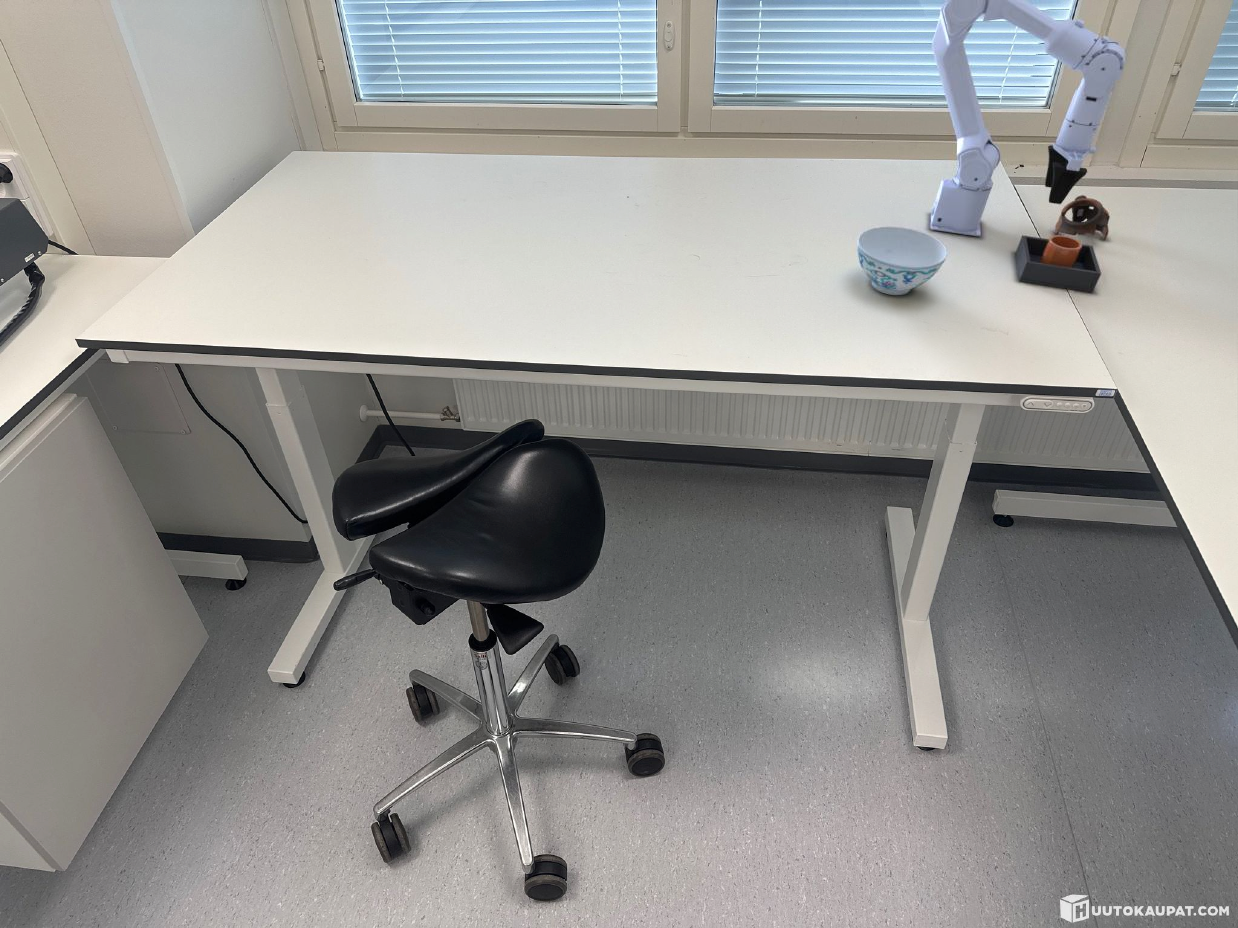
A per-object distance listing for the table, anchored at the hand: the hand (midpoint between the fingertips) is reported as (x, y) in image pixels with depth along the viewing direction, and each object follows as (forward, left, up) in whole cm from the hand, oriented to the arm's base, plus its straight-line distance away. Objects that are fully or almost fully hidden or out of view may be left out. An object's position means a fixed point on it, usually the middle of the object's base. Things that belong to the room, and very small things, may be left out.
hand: (1052, 194), depth 150 cm
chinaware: (-26, -27, -10) cm, 39 cm away
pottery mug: (+9, +8, -10) cm, 16 cm away
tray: (+2, -12, -10) cm, 15 cm away
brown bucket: (+2, -12, -9) cm, 15 cm away
